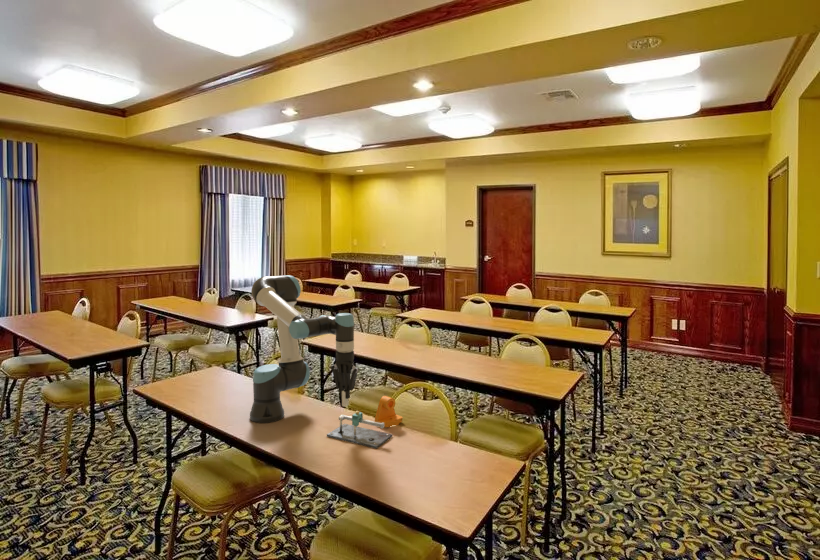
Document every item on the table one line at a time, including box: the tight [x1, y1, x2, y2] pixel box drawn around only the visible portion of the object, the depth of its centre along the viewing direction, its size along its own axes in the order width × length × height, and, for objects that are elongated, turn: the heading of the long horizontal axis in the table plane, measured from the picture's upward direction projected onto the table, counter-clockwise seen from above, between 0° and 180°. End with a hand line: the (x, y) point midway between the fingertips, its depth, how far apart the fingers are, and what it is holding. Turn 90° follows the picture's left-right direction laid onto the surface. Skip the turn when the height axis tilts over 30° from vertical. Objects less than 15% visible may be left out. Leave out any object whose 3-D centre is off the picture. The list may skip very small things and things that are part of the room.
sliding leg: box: [351, 410, 364, 435], centre depth 198 cm, size 2×4×9 cm, turn 153°
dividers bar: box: [338, 414, 385, 433], centre depth 197 cm, size 21×3×7 cm, turn 63°
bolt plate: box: [326, 423, 393, 450], centre depth 199 cm, size 24×13×1 cm, turn 63°
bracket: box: [374, 395, 403, 428], centre depth 213 cm, size 11×7×12 cm, turn 135°
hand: (345, 405), depth 201 cm, fingers closed
